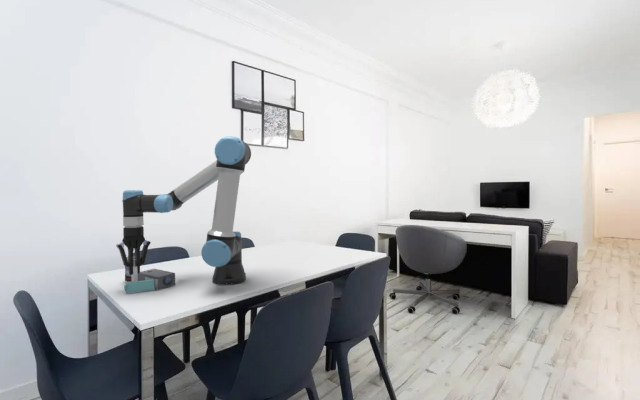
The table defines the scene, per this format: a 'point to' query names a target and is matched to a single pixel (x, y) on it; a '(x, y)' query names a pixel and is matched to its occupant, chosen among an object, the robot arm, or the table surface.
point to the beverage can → (127, 275)
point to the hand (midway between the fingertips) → (134, 281)
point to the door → (140, 286)
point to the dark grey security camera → (158, 277)
